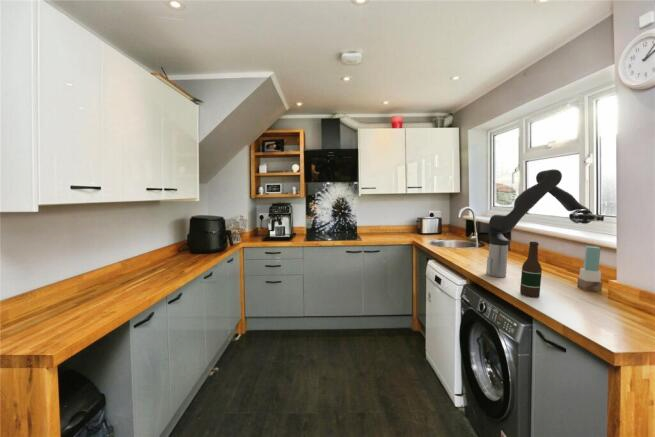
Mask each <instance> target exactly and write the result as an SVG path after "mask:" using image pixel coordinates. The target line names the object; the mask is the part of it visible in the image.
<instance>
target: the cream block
mask: <svg viewBox="0 0 655 437" xmlns="http://www.w3.org/2000/svg"><path fill="white" fill-rule="evenodd" d="M578 275H579V277H578V278H580V279H582V280H585V281H591V282H601V279H602V271H600V270H598V272H597V271H589V270H585V269H584V267H580V268H579V274H578Z"/></svg>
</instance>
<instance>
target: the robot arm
mask: <svg viewBox="0 0 655 437" xmlns="http://www.w3.org/2000/svg"><path fill="white" fill-rule="evenodd" d="M562 178H563V173H562V172H561V171H560V170H559V169H556V168H555V169H554V168H552V169H546V170H541V171H538V173H536V177H535V180H536V182H537V183H536V184H534V185H533V186H531V187H528V188H526V189H525V190H523V191H522V192H521V193H520V194H519V195H518V196H517V197H516V198H515V200H514V203H513V209H512V210H511V211H510V212H509V213H508V214H506V215H503V214H493V215H492V216H491V217H490V218H489V221H488V239H489V247H488V248H489V249H488V256H487V257H486V258H487V259H486V271H485V272H486V274H487V275H488V276H489V277H495V278H496V277H497V278H505V277H507V267H508V254H509V239H508V238H506V237H505V236H504V234H505V233H509V232H511V231H512V230H513V229H515V227H516V226H517V224H518V223H519V222H520V221H521V219H522V218H523V217H524V216H525V215H526V214H527V213H528V212H529V211H530V210H531V209H532V208H534V206H535V205H536V204H537V203H538V202H539V201H540V200H541V199H542V198H543V197H544V196H545V195H546V194H548V193H549V194H550V195H551V196H552V197H553V198H555V199H556V200H557V201H558V202H559V203H560V205H562V206H563V208H564V209H565V210H566V211H568V212H570V213H569V215H568V219H569V220H570V221H571V222H573V223H574V224H583V225H586V224H589V223H591V222H599V221H601V222H603V221H605V216H604V215H601V214H598V215H597V214H596V213H595V214H594V213H593V212H592V211H591V210H590V209H589V208H588V207H586V206H584V205H582V204H581V202H578V200H577V199H576V198H575V197H574V195H572V194H571V193H570V192H568V191H566V190H564V189H562V188H561V187H559V186H558V185H559V184H560V182H561V181H562ZM503 233H504V234H503Z"/></svg>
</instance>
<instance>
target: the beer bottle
mask: <svg viewBox="0 0 655 437" xmlns="http://www.w3.org/2000/svg"><path fill="white" fill-rule="evenodd" d="M528 244H529V248H528V255H527V258H526V260H525V261H524V262H523V263H522V267H521V275H520V276H521V278H520V285H519V286H520V288H519V290H520V291H519V292H520V296H521V295H522V296H523V295H524V297H527V298H534V299H535V298H540V294H541V283H542V265H541V264H540V263H541V262H540V261H539V256H538V255H539V253H538V252H539V250H538V249H539V245H540V244H539V242H538V241H529V243H528Z"/></svg>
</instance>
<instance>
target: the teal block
mask: <svg viewBox="0 0 655 437" xmlns="http://www.w3.org/2000/svg"><path fill="white" fill-rule="evenodd" d="M584 249H585V250H584V257H583V258H584V259H583V268H584V269H585V270H589V271H597V272H598V271H599V269H600V268H599V266H600V257H601V247H599V246H593V245H591V246H590V245H585V248H584Z"/></svg>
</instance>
